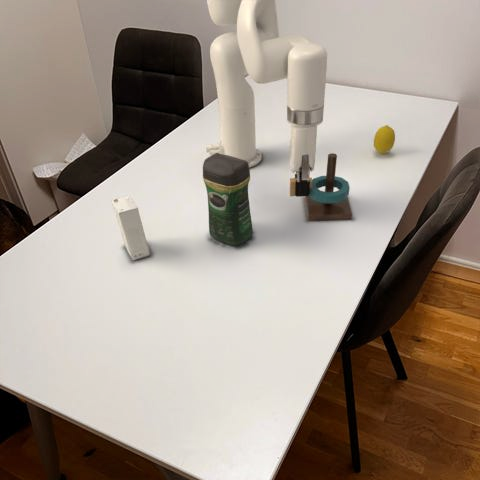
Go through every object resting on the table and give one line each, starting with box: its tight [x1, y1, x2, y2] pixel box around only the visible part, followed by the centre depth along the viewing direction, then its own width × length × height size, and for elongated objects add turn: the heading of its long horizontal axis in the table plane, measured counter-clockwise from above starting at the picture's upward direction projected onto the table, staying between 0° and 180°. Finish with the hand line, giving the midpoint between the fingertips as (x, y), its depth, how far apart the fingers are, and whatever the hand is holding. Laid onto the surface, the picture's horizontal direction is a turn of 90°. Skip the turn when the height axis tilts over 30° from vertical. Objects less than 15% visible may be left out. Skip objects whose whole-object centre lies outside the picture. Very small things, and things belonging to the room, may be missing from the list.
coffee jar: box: [202, 153, 254, 247], centre depth 101 cm, size 10×8×19 cm
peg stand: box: [304, 152, 353, 222], centre depth 109 cm, size 10×10×14 cm
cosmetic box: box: [111, 195, 151, 261], centre depth 101 cm, size 6×4×12 cm
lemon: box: [373, 124, 396, 155], centre depth 129 cm, size 6×6×8 cm
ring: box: [289, 175, 351, 203], centre depth 109 cm, size 14×9×4 cm
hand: (301, 192), depth 110 cm, fingers closed on ring, 2 cm apart
